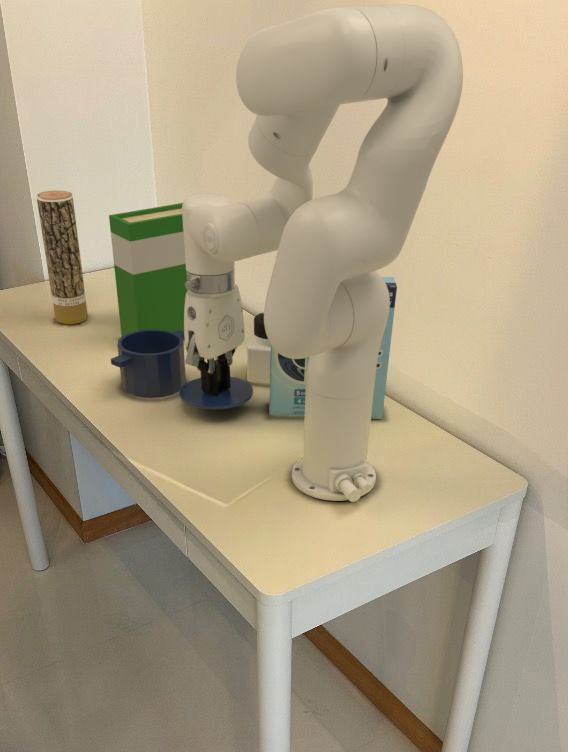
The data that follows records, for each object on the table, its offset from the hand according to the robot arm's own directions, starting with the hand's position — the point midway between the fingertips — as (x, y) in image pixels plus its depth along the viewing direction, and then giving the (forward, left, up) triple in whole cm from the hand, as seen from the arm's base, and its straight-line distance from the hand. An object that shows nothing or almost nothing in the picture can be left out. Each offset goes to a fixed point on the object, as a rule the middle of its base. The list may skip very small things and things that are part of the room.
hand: (216, 389), depth 135 cm
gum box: (-7, -17, -4) cm, 19 cm away
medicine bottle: (+9, -13, -4) cm, 17 cm away
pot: (+13, +8, -4) cm, 16 cm away
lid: (0, 0, -1) cm, 1 cm away
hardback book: (+35, -1, -4) cm, 36 cm away
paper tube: (+50, +16, -4) cm, 53 cm away
